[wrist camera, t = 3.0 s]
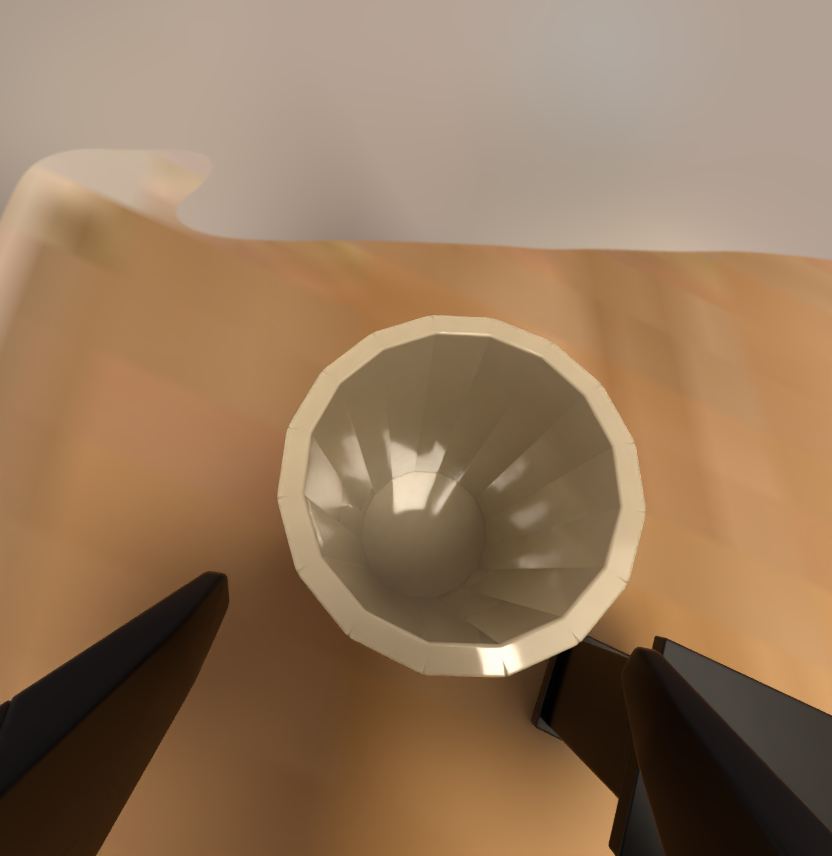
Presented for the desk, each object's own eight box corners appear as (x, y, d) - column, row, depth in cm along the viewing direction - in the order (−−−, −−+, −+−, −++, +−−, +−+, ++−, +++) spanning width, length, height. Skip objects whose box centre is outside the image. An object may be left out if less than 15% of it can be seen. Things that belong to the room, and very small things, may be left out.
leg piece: (631, 786, 16) (840, 978, 8) (517, 727, 16) (617, 860, 9) (659, 659, 17) (856, 727, 10) (554, 609, 18) (665, 637, 10)
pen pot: (460, 632, 18) (585, 759, 6) (330, 568, 18) (203, 564, 6) (509, 499, 20) (678, 391, 8) (391, 446, 20) (380, 271, 8)
